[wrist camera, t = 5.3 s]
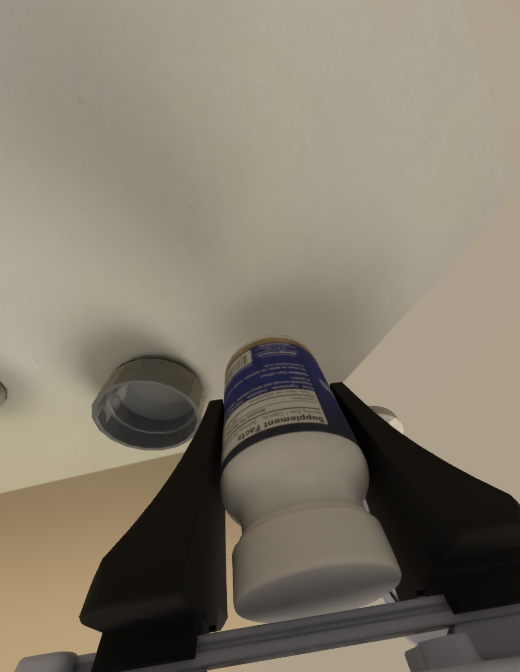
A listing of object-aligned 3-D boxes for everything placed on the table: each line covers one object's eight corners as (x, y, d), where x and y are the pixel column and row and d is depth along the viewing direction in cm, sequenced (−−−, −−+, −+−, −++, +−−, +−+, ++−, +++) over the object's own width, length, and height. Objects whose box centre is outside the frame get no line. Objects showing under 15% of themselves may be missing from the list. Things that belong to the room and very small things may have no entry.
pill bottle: (315, 393, 16) (403, 608, 8) (235, 407, 16) (236, 638, 8) (313, 322, 13) (451, 543, 5) (215, 339, 13) (180, 591, 5)
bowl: (222, 382, 24) (220, 408, 21) (177, 431, 27) (170, 460, 24) (135, 338, 21) (118, 362, 18) (95, 401, 24) (75, 430, 21)
